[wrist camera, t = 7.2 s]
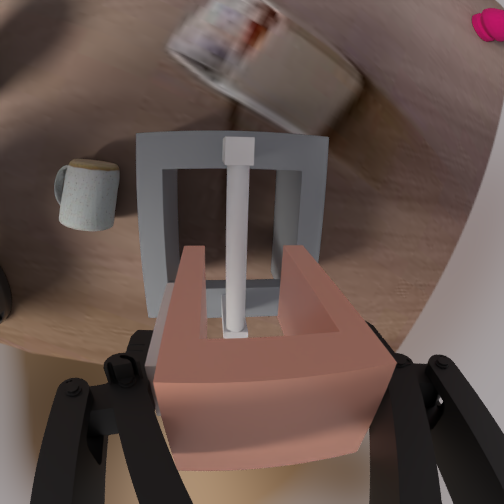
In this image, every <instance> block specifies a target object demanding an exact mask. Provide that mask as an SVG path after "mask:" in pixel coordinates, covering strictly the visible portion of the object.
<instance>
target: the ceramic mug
mask: <svg viewBox="0 0 504 504" xmlns="http://www.w3.org/2000/svg"><path fill="white" fill-rule="evenodd" d="M64 178H65V180H64ZM119 179H120V170H119V167H118V166H117V164H114V163H110V162H105V161H98V160H90V159H73V160H72V161H70V163H69V165H65V166H63V167H62V168H61V169H60V170H59V171H58V173H57V176H56V179H55V183H54V193H55V197H56V200H57V202H58V203H59V205H60V213H59V221H60V223H61V224H63V225H64V226H66V227H69V228H72V229H77V230H84V231H102V230H106V229H109V228H111V227H112V226H113V224H114V216H115V207H116V200H117V191H118V186H119ZM63 183H64V187H63Z"/></svg>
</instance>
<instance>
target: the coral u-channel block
mask: <svg viewBox="0 0 504 504" xmlns="http://www.w3.org/2000/svg"><path fill="white" fill-rule="evenodd" d="M277 318H278V320H279V323H280V326H281V328H282V331H283V334H284V336H276V337H257V338H229V339H207V307H206V276H205V246H184V249H183V252H182V256H181V260H180V264H179V268H178V272H177V275H176V279H175V283H174V288H173V292H172V296H171V300H170V304H169V308H168V313H167V317H166V322H165V326H164V331H163V335H162V340H161V344H160V349H159V354H158V359H157V364H156V369H155V374H154V379H153V385H154V389H155V393H156V397H157V401H158V405H159V409H160V413H161V417H162V420H163V424H164V428H165V431H166V435H167V438H168V441H169V445H170V448H171V452H172V455H173V458H174V461H175V464H176V467H177V470H178V471H229V470H247V469H258V468H270V467H278V466H286V465H293V464H300V463H305V462H312V461H318V460H322V459H328V458H333V457H338V456H342V455H346V454H351V453H355V452H357V450H358V448H359V446H360V444H361V442H362V441H363V439H364V437H365V435H366V433H367V431H368V429H369V427H370V424H371V422H372V420H373V418H374V416H375V414H376V412H377V410H378V407H379V405H380V403H381V401H382V398H383V396H384V394H385V391H386V389H387V387H388V384H389V382H390V379H391V377H392V374H393V372H394V369H395V366H396V364H397V362H396V361H395V359H394V358H393V357H392V355H391V354H390V353H389V351H388V350H387V349H386V347H385V346H384V345H383V344H382V342H381V341H380V340H379V338H378V337H377V336H376V335H375V333H374V332H373V331H372V329H371V328H370V327H369V326H368V324H367V323H366V322H365V321H364V319H363V318H362V317H361V316H360V314H359V313H358V312H357V310H356V309H355V308H354V307H353V306H352V304H351V303H350V302H349V301H348V299H347V298H346V297H345V296H344V294H343V293H342V292H341V291H340V289H339V288H338V287H337V286H336V285H335V283H334V282H333V281H332V280H331V278H330V277H329V276H328V275H327V274H326V272H325V271H324V270H323V269H322V268H321V266H320V265H319V264H318V263H317V262H316V260H315V259H314V258H313V257H312V256H311V254H310V253H309V252H308V251H307V250H306V249H305V247H304V246H303V245H283V256H282V269H281V282H280V294H279V306H278V317H277Z"/></svg>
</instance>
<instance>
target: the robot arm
mask: <svg viewBox="0 0 504 504" xmlns="http://www.w3.org/2000/svg"><path fill="white" fill-rule="evenodd" d="M173 288H174V283H167V285H166V288H165V292H164V295H163V299H162V302H161V306H160V309H159V313H158V316H157V320H156V324H155V327H154V330H137V331H136V332H135V333H134V334H133V335H132V336H131V338H130V341H129V345H128V347H127V351H126V353H118V354H115V355H112V356H111V357H109V358H107V360H106V361H105V362H104V371H105V374H106V376H107V380H108V383H106V384H103V385H97V386H90V387H89V385H88V383H87V382H86V381H85V380H83V379H80V378H71V379H68V380H65V381H64V382H62V383H61V384H60V385H59V387H58V389H57V392H56V395H55V398H54V401H53V405H52V408H51V412H50V415H49V418H48V422H47V426H46V429H45V433H44V437H43V441H42V445H41V449H40V453H39V458H38V463H37V467H36V472H35V477H34V483H33V488H32V494H31V501H30V504H104V502H105V473H106V457H107V444H108V435H111V434H118V433H119V436H120V440H121V444H122V448H123V452H124V455H125V459H126V463H127V466H128V470H129V473H130V476H131V479H132V483H133V486H134V489H135V492H136V495H137V498H138V501H139V504H193V503H192V501H191V498H190V496H189V494H188V492H187V490H186V488H185V486H184V484H183V482H182V479H181V477H180V475H179V473H178V470H177V468H176V466H175V464H174V461H173V459H172V456H171V454H170V452H169V449H168V447H167V444H166V442H165V439H164V437H163V434H162V431H161V429H160V426H159V423H158V421H157V418H156V415H155V410H156V413H157V415H158V416H161V413H160V409H159V405H158V401H157V397H156V393H155V389H154V385H153V379H154V374H155V369H156V364H157V359H158V354H159V349H160V344H161V340H162V335H163V331H164V326H165V322H166V317H167V313H168V308H169V304H170V300H171V296H172V292H173ZM11 305H12V298H11V291H10V287H9V284H8V281H7V279H6V276H5V274H4V272H3V270H2V269H1V267H0V324H1V323H2V322H3V321H4V320H5V319H6V318H7V316H8V315H9V313H10V310H11ZM365 322H366V323H367V324H368V326H369V327H370V328H371V329H372V331H373V332H374V333H375V335H376V336H377V337H378V338H379V340H380V341H381V342H382V344H383V345H384V346H385V347H386V349H387V350H388V351H389V353H390V354H391V355H392V357H393V358H394V359H395V361H396V362H397V364H396V366H395V369H394V372H393V374H392V377H391V379H390V382H389V384H388V387H387V389H386V391H385V394H384V396H383V398H382V401H381V403H380V405H379V407H378V410H377V412H376V414H375V416H374V418H373V420H372V422H371V424H370V427H369V433H370V501H369V504H442V501H441V493H440V485H439V477H438V471H437V466H438V468H439V470H440V472H441V475H442V477H443V480H444V482H445V484H446V487H447V489H448V491H449V494H450V496H451V498H452V501H453V504H504V434H503V432H502V431H501V429H500V428H499V426H498V424H497V423H496V422H495V420H494V418H493V417H492V415H491V414H490V412H489V411H488V409H487V408H486V406H485V405H484V404H483V402H482V401H481V399H480V398H479V396H478V395H477V393H476V392H475V391H474V389H473V388H472V386H471V385H470V384H469V382H468V381H467V380H466V378H465V377H464V375H463V374H462V373H461V372H460V370H459V369H458V367H457V366H456V365H455V363H454V362H453V361H452V360H451V359H450V358H448V357H446V356H444V355H433V356H431V357H430V359H429V361H428V363H427V364H414V363H413V362H412V360H411V359H410V358H409V357H407V356H405V355H403V354H399V353H395V352H394V351H393V350H392V348H391V347H390V346H389V345H388V343H387V342H386V341H385V340H384V338H382V336H381V335H380V333H378V331H377V330H376V328H375V327H374V326H373V325H371V324H370V323H368V322H367V321H365ZM440 397H441V398H442V400H443V403H442V404H440V402H439V398H440Z"/></svg>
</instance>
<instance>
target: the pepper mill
mask: <svg viewBox="0 0 504 504" xmlns="http://www.w3.org/2000/svg"><path fill="white" fill-rule="evenodd" d="M472 24H473V27H474V29H475V31H476V33H477V34H478V35H479V37H480V38H481V39H483V40H484V41H486V42H489V41H494V40H497V41H500V42H503V41H504V10H500V9H495V8H488V9H484V10H483V12H482V13H478V14H475V15H473V16H472Z"/></svg>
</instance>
